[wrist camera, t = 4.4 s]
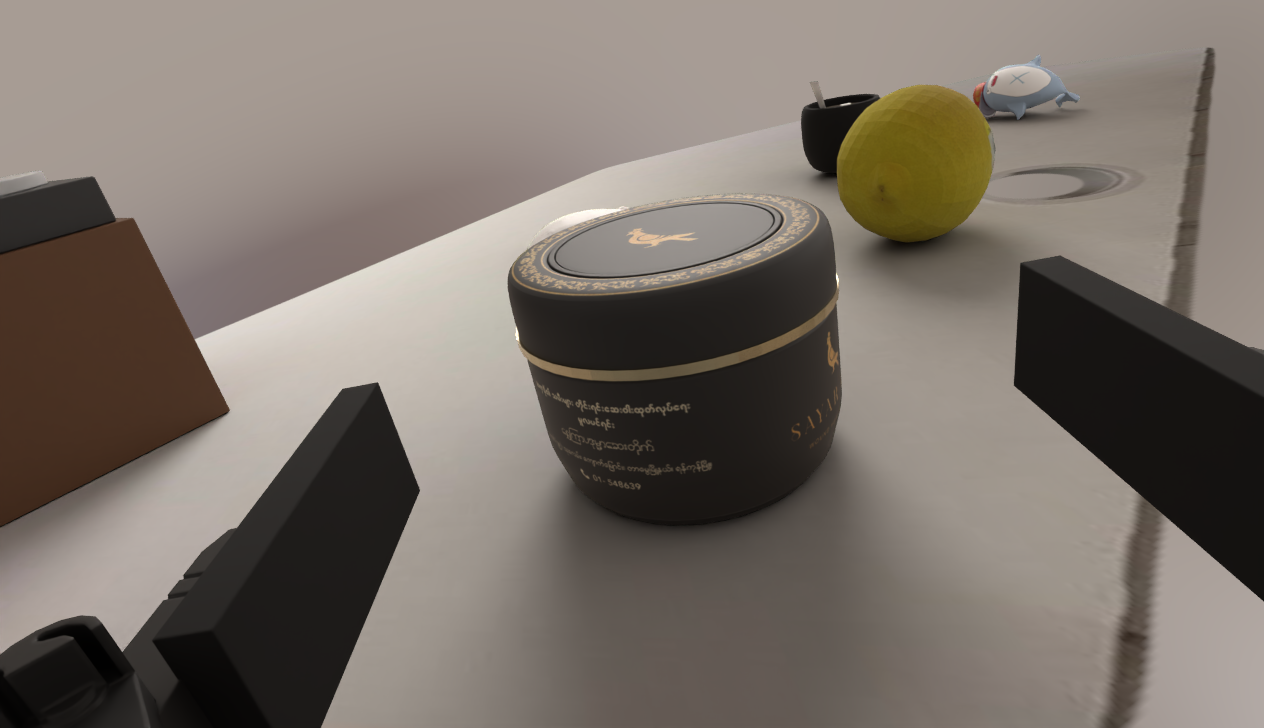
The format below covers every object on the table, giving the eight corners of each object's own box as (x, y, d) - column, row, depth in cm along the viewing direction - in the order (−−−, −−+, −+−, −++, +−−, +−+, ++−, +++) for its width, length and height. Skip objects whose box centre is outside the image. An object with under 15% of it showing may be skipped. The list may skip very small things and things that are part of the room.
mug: (855, 182, 53) (850, 78, 49) (788, 180, 57) (779, 85, 54) (935, 144, 59) (935, 49, 56) (868, 145, 64) (865, 58, 60)
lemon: (951, 272, 34) (954, 99, 30) (807, 261, 39) (795, 112, 36) (1022, 207, 40) (1030, 59, 37) (891, 205, 46) (887, 75, 42)
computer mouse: (679, 215, 53) (674, 185, 52) (574, 271, 45) (566, 237, 44) (612, 215, 57) (606, 187, 56) (506, 266, 50) (498, 235, 49)
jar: (811, 570, 18) (784, 296, 15) (501, 518, 23) (429, 300, 19) (870, 383, 26) (860, 178, 23) (631, 373, 30) (594, 200, 27)
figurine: (1083, 100, 62) (1071, 103, 58) (988, 129, 67) (973, 134, 64) (1072, 42, 61) (1060, 43, 58) (978, 77, 66) (962, 79, 63)
